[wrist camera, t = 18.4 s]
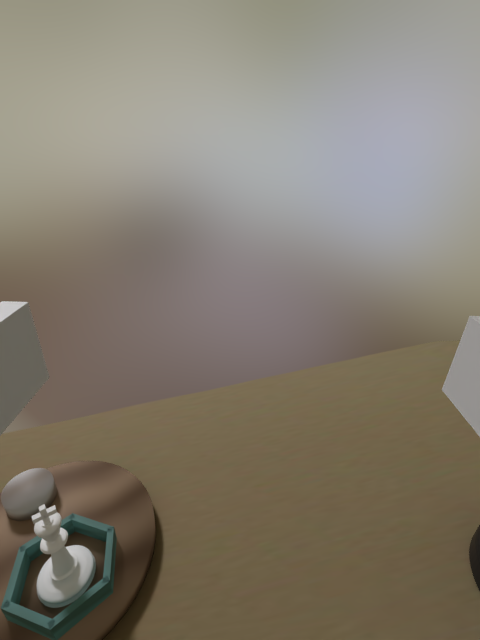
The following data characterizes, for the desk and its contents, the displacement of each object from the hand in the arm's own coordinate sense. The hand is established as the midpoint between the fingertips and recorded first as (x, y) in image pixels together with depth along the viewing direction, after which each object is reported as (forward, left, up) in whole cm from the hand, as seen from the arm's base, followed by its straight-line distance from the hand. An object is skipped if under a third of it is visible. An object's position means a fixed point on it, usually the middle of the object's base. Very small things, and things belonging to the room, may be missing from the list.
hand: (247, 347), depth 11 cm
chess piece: (+17, +5, -31) cm, 35 cm away
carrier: (+21, +5, -32) cm, 38 cm away
